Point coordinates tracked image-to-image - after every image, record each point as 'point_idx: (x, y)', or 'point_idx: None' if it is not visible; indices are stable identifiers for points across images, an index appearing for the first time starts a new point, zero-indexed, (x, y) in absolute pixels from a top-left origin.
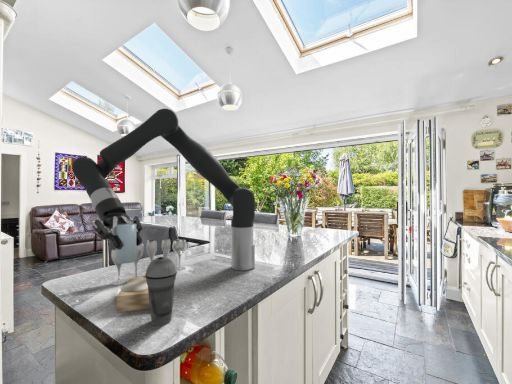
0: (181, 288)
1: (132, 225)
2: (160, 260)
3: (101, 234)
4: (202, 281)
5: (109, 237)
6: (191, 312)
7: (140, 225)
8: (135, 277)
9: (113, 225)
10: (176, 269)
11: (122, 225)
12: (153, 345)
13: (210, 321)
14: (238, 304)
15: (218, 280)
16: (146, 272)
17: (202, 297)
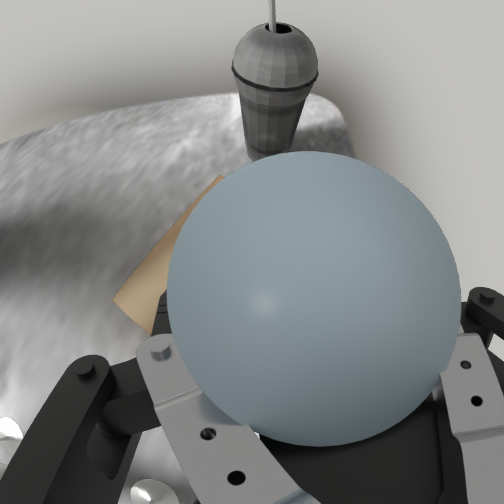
0: (108, 274)
1: (288, 157)
2: (288, 24)
3: (498, 367)
4: (43, 270)
5: None
6: (202, 137)
7: (52, 406)
8: (155, 501)
9: (480, 353)
10: (20, 441)
11: (405, 227)
12: (314, 107)
13: (207, 96)
14: (125, 108)
15: (23, 238)
16: (316, 66)
17: (128, 177)
